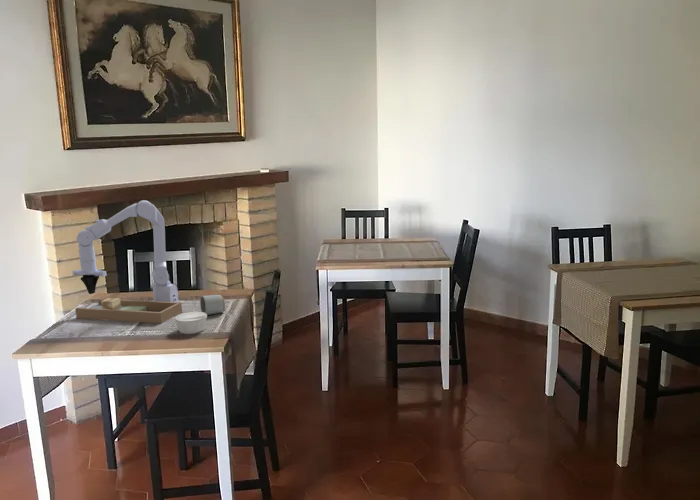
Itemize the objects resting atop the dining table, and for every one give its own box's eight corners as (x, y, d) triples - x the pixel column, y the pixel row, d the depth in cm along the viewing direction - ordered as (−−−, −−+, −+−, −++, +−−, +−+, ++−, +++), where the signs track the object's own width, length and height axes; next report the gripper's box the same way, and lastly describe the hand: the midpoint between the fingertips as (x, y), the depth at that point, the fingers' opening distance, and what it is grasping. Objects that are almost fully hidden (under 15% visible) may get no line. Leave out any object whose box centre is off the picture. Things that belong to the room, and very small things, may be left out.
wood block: (121, 307, 234) (120, 298, 234) (113, 311, 230) (111, 301, 229) (110, 307, 236) (109, 297, 235) (102, 310, 231) (101, 301, 230)
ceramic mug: (226, 313, 228) (225, 294, 227) (206, 317, 224) (204, 298, 223) (217, 308, 237) (216, 289, 236) (198, 311, 233) (196, 293, 232)
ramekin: (191, 337, 203) (190, 322, 202) (169, 332, 209) (168, 318, 208) (214, 327, 212) (213, 313, 211) (193, 323, 218) (191, 310, 217)
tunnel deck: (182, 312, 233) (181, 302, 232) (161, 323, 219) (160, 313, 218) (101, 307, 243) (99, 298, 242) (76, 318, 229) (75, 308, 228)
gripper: (65, 261, 229) (69, 295, 232) (96, 262, 225) (100, 296, 228) (78, 258, 236) (82, 290, 239) (108, 259, 232) (112, 291, 235)
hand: (91, 293), depth 234 cm, fingers closed
